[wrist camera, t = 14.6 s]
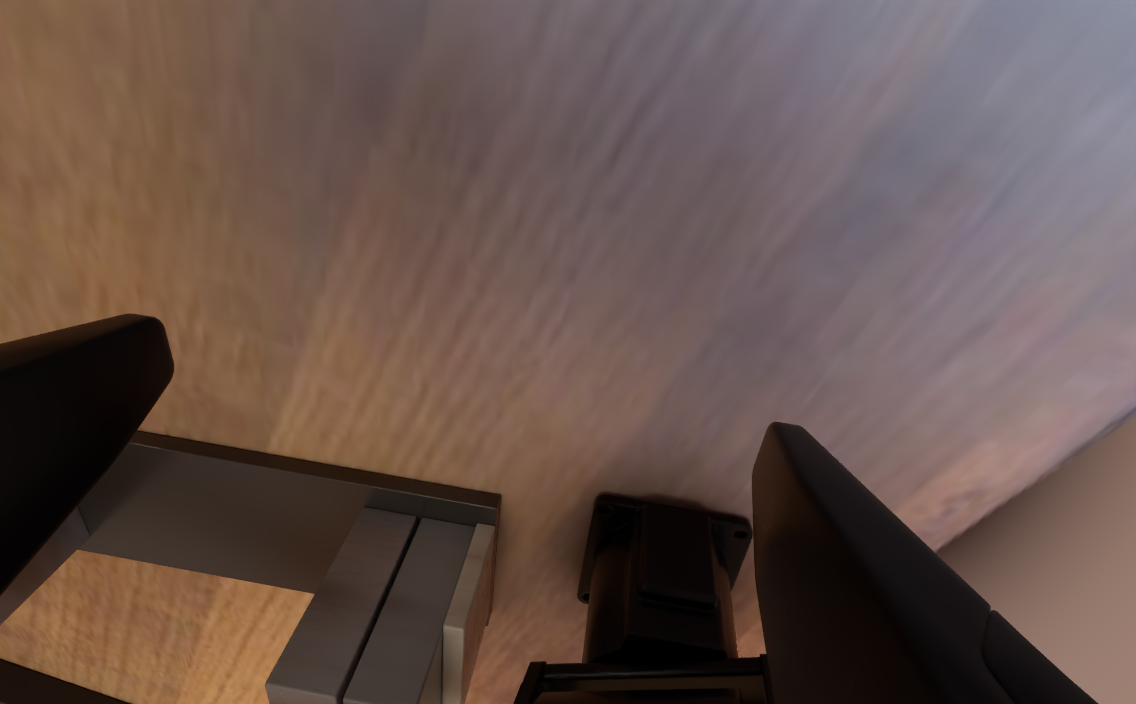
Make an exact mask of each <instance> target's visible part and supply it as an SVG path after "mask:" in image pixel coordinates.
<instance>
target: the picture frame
mask: <svg viewBox="0 0 1136 704" xmlns="http://www.w3.org/2000/svg"><path fill="white" fill-rule="evenodd" d="M0 704H127V703H124V702H121V701H118V700H116V699H113V698H110V697H107V696H104V695H101V694H98V693H95V692H92V691H89V690H87V689H84V688H81V687H78V686H75V685H72V684H69V683H66V682H63V681H60V680H58V679H55V678H52V677H49V676H46V675H43V674H40V673H37V672H34V671H31V670H29V669H26V668H23V667H20V666H17V665H14V664H11V663H8V662H5V661H2V660H0Z"/></svg>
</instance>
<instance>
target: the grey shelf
mask: <svg viewBox="0 0 1136 704" xmlns="http://www.w3.org/2000/svg"><path fill="white" fill-rule="evenodd" d="M500 499H501V496H500V495H494V494H489V493H483V492H478V491H472V490H466V489H461V488H455V487H449V486H444V485H438V484H432V483H427V482H421V481H415V480H410V479H404V478H398V477H393V476H387V475H381V474H376V473H370V472H364V471H359V470H353V469H347V468H342V467H336V466H330V465H325V464H319V463H314V462H308V461H302V460H297V459H291V458H285V457H280V456H274V455H268V454H263V453H257V452H251V451H246V450H240V449H234V448H229V447H223V446H217V445H212V444H206V443H200V442H195V441H189V440H183V439H178V438H172V437H166V436H161V435H155V434H150V433H144V432H138V431H136V432H135V434H134V435H133V437H132V438H131V439H130V441H129V442H128V444H127V445H126V447H125V448H124V450H123V451H122V452H121V454H120V455H119V456H118V458H117V459H116V461H115V462H114V463H113V464H112V466H111V467H110V468H109V469H108V471H107V472H106V473H105V474H104V475H103V477H102V478H101V479H100V480H99V481H98V483H97V484H96V485H95V486H94V487H93V488H92V490H91V491H90V492H89V493H88V494H87V496H86V497H85V498H84V499H83V500H82V501H81V503H80V504H79V505H78V506H77V507H76V508H75V510H74V511H73V512H72V513H71V514H70V516H69V517H68V518H67V519H66V520H65V521H64V523H63V524H62V525H61V526H60V527H59V529H58V530H57V531H56V532H55V533H54V534H53V536H52V537H51V538H50V539H49V540H48V541H47V543H46V544H45V545H44V546H43V547H42V549H41V550H40V551H39V552H38V553H37V554H36V556H35V557H34V558H33V559H32V560H31V562H30V563H29V564H28V565H27V566H26V567H25V569H24V570H23V571H22V572H21V573H20V574H19V576H18V577H17V578H16V579H15V580H14V582H13V583H12V584H11V585H10V586H9V587H8V589H7V590H6V591H5V592H4V593H3V595H2V596H1V597H0V625H1V624H2V623H3V622H4V621H5V620H6V619H7V618H8V617H9V616H10V615H11V614H12V613H13V612H14V611H15V610H16V609H17V608H18V607H19V606H20V605H21V604H22V603H23V602H24V601H25V600H26V599H27V598H28V597H29V596H30V595H31V594H32V593H33V592H34V591H35V590H36V589H37V588H38V587H40V586H41V585H42V584H43V583H44V582H45V581H46V580H47V579H48V578H49V577H50V576H51V575H52V574H53V573H54V572H55V571H56V570H57V569H58V568H59V567H60V566H61V565H62V564H63V563H64V562H65V561H66V560H67V559H68V558H69V557H70V556H71V555H72V554H73V553H74V552H75V551H76V550H77V549H78V550H83V551H89V552H94V553H99V554H105V555H110V556H115V557H121V558H126V559H131V560H137V561H142V562H147V563H153V564H158V565H163V566H169V567H174V568H179V569H185V570H190V571H196V572H201V573H206V574H212V575H217V576H222V577H228V578H233V579H238V580H244V581H249V582H254V583H260V584H265V585H270V586H276V587H281V588H286V589H292V590H297V591H302V592H308V593H313V594H315V595H314V597H313V599H312V600H311V602H310V604H309V606H308V608H307V609H306V611H305V613H304V615H303V617H302V618H301V620H300V622H299V624H298V626H297V627H296V629H295V631H294V633H293V635H292V636H291V638H290V640H289V642H288V643H287V645H286V647H285V649H284V651H283V652H282V654H281V656H280V658H279V660H278V661H277V663H276V665H275V667H274V669H273V670H272V672H271V674H270V676H269V678H268V679H267V681H266V683H265V687H266V691H267V695H268V699H269V703H270V704H465V700H466V696H467V693H468V689H469V685H470V681H471V678H472V674H473V670H474V667H475V663H476V659H477V655H478V652H479V648H480V644H481V640H482V637H483V633H484V629H485V626H488V624H489V620H490V616H491V612H492V599H493V587H494V574H495V562H496V549H497V537H498V524H499V512H500Z"/></svg>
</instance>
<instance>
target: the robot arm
mask: <svg viewBox="0 0 1136 704" xmlns="http://www.w3.org/2000/svg"><path fill="white" fill-rule="evenodd" d="M173 373H174V362H173V358H172V354H171V350H170V346H169V342H168V338H167V334H166V331H165V327H164V325H163V324H162V322H161V321H160V320H159V319H157V318H155V317H150V316H144V315H138V314H123V315H119V316H115V317H111V318H107V319H103V320H98V321H94V322H90V323H86V324H82V325H77V326H73V327H69V328H65V329H61V330H56V331H52V332H48V333H44V334H40V335H36V336H31V337H27V338H23V339H19V340H15V341H10V342H6V343H2V344H0V597H1V596H2V595H3V593H4V592H5V591H6V590H7V589H8V587H9V586H10V585H11V584H12V583H13V582H14V580H15V579H16V578H17V577H18V576H19V574H20V573H21V572H22V571H23V570H24V569H25V567H26V566H27V565H28V564H29V563H30V562H31V560H32V559H33V558H34V557H35V556H36V554H37V553H38V552H39V551H40V550H41V549H42V547H43V546H44V545H45V544H46V543H47V541H48V540H49V539H50V538H51V537H52V536H53V534H54V533H55V532H56V531H57V530H58V529H59V527H60V526H61V525H62V524H63V523H64V521H65V520H66V519H67V518H68V517H69V516H70V514H71V513H72V512H73V511H74V510H75V508H76V507H77V506H78V505H79V504H80V503H81V501H82V500H83V499H84V498H85V497H86V496H87V494H88V493H89V492H90V491H91V490H92V488H93V487H94V486H95V485H96V484H97V483H98V481H99V480H100V479H101V478H102V477H103V475H104V474H105V473H106V472H107V471H108V469H109V468H110V467H111V466H112V464H113V463H114V462H115V461H116V459H117V458H118V456H119V455H120V454H121V452H122V451H123V450H124V448H125V447H126V445H127V444H128V442H129V441H130V439H131V438H132V437H133V435H134V434H135V432H136V431H137V429H138V428H139V426H140V425H141V423H142V422H143V421H144V419H145V418H146V416H147V415H148V413H149V412H150V410H151V409H152V407H153V406H154V405H155V403H156V402H157V400H158V399H159V397H160V396H161V394H162V393H163V391H164V390H165V389H166V387H167V386H168V384H169V383H170V381H171V379H172V377H173ZM752 504H753V532H752V526H751V524H750V522H748V521H747V520H745V519H741V518H735V517H730V516H724V515H718V514H713V513H707V512H701V511H696V510H690V509H684V508H678V507H673V506H667V505H661V504H656V503H650V502H644V501H638V500H633V499H627V498H621V497H616V496H610V495H602V496H599V497H598V498H596V500H595V502H594V507H593V512H592V518H591V523H590V528H589V534H588V539H587V544H586V549H585V555H584V560H583V565H582V571H581V576H580V581H579V586H578V593H577V597H578V599H579V600H580V601H581V602H583V603H585V604H589V605H588V614H587V623H586V632H585V641H584V649H583V658H582V663H562V664H547V663H546V661H542V662H531V663H530V665H529V667H528V670H527V672H526V675H525V677H524V680H523V682H522V684H521V686H520V688H519V691H518V693H517V696H516V699H515V701H514V704H1098V703H1097V702H1096V701H1095V700H1093V699H1092V698H1091V697H1090V696H1089V695H1088V694H1087V693H1085V692H1084V691H1083V690H1082V689H1081V688H1080V687H1078V686H1077V685H1076V684H1075V683H1074V682H1073V681H1072V680H1070V679H1069V678H1068V677H1067V676H1066V675H1065V674H1064V673H1063V672H1061V671H1060V670H1059V669H1058V668H1057V667H1056V666H1055V665H1054V664H1053V663H1052V662H1051V661H1049V660H1048V659H1047V658H1046V657H1045V656H1044V655H1043V654H1042V653H1041V652H1040V651H1039V650H1037V649H1036V648H1035V647H1034V646H1033V645H1032V644H1031V643H1030V642H1029V641H1028V640H1027V639H1026V638H1024V637H1023V636H1022V635H1021V634H1020V633H1019V632H1018V631H1017V630H1016V629H1015V628H1014V627H1013V626H1012V625H1010V623H1009V622H1008V621H1007V620H1005V619H1004V618H1003V617H1002V616H1001V615H1000V614H999V613H998V612H997V611H995V610H992V611H990V609H991V608H990V605H989V604H988V603H987V602H986V601H985V600H984V599H983V598H982V597H981V596H980V595H979V594H978V593H977V592H976V591H974V589H973V588H971V587H970V586H969V585H968V584H967V583H966V582H965V581H964V580H963V579H962V578H961V577H960V576H959V575H958V574H956V572H955V571H954V570H953V569H951V568H950V567H949V566H948V565H947V564H946V563H945V562H944V561H943V560H942V559H941V558H940V557H939V556H938V555H937V554H936V553H935V552H934V551H933V550H931V549H930V548H929V547H928V546H927V545H926V544H925V543H924V542H923V541H922V540H921V539H920V538H919V537H918V536H917V535H916V534H915V533H914V532H912V531H911V530H910V529H909V528H908V527H907V526H906V525H905V524H904V523H903V522H902V521H901V520H900V519H899V518H898V517H897V516H896V515H895V514H894V513H892V512H891V511H890V510H889V509H888V508H887V507H886V506H885V505H884V504H883V503H882V502H881V501H880V500H879V499H878V498H877V497H876V496H875V495H873V494H872V493H871V492H870V491H869V490H868V489H867V488H866V487H865V486H864V485H863V484H862V483H861V482H860V481H859V480H858V479H857V478H856V477H855V476H853V475H852V474H851V473H850V472H849V471H848V470H847V469H846V468H845V467H844V466H843V465H842V464H841V463H840V462H839V461H838V460H837V459H836V458H835V457H833V456H832V455H831V454H830V453H829V452H828V451H827V450H826V449H825V448H824V447H823V446H822V445H821V444H820V443H819V442H818V441H817V440H816V439H814V438H813V437H812V436H811V435H810V434H809V433H808V432H807V431H806V430H805V429H804V428H803V427H801V426H799V425H793V424H787V423H781V422H773V423H771V424H770V425H769V427H768V428H767V431H766V433H765V436H764V439H763V442H762V444H761V447H760V450H759V453H758V455H757V458H756V461H755V464H754V468H753V473H752ZM603 506H607V507H609V508H603ZM738 530H742V531H741V532H737V531H738ZM752 536H753V538H754V566H755V580H756V588H757V595H758V602H759V608H760V615H761V621H762V628H763V634H764V641H765V647H766V654H760V657H748V658H738V653H737V644H736V635H735V626H734V617H733V608H732V600H731V591H732V588H733V585H734V583H735V580H736V578H737V575H738V573H739V570H740V567H741V565H742V562H743V560H744V557H745V555H746V552H747V549H748V547H749V544H750V542H751V539H752Z"/></svg>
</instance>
